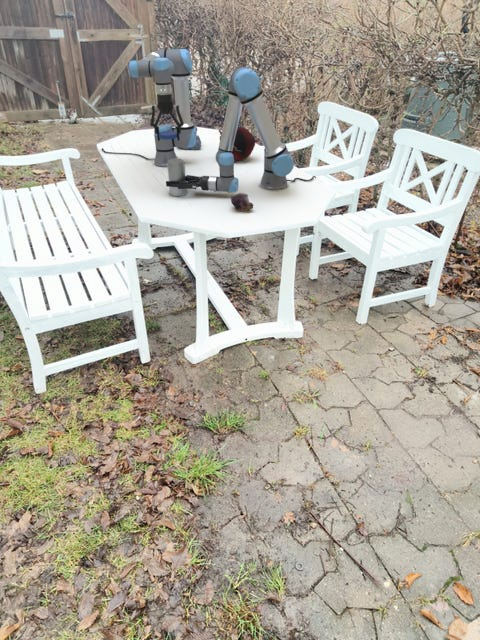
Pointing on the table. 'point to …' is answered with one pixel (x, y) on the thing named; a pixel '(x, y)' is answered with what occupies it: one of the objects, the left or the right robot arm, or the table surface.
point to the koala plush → (197, 144)
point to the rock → (241, 202)
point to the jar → (176, 175)
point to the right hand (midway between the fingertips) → (169, 180)
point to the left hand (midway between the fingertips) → (168, 140)
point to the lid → (168, 135)
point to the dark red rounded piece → (242, 144)
